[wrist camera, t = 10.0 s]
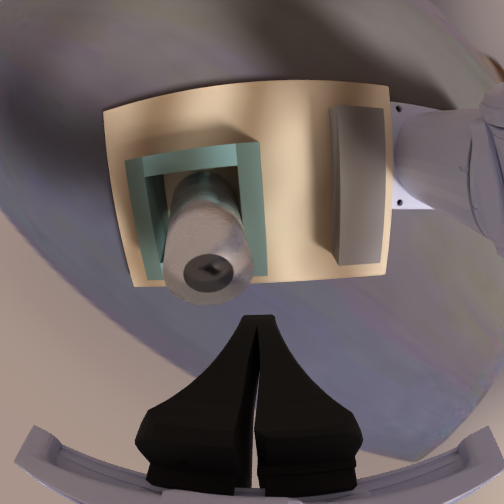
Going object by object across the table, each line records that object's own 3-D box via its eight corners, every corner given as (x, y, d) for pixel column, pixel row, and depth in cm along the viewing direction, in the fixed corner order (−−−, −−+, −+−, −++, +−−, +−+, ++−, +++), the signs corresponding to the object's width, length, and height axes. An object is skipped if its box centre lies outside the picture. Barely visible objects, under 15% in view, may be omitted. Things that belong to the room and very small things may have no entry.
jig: (381, 88, 15) (408, 78, 11) (379, 267, 20) (400, 294, 17) (111, 112, 17) (79, 109, 13) (139, 279, 22) (118, 306, 18)
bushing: (233, 169, 16) (254, 231, 11) (234, 224, 19) (253, 300, 13) (168, 175, 16) (153, 241, 10) (176, 230, 18) (172, 309, 13)
